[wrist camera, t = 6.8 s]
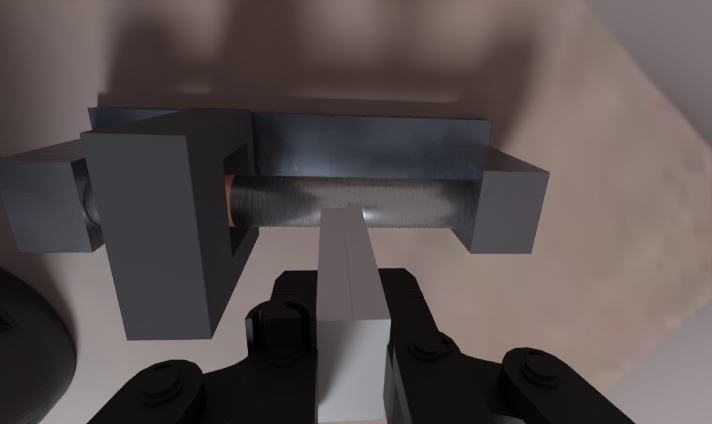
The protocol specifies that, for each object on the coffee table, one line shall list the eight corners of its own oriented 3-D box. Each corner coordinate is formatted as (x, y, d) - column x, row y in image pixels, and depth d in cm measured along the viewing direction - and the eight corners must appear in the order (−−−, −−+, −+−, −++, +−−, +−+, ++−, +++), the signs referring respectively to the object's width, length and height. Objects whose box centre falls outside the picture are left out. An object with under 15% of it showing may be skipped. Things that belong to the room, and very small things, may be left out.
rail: (120, 220, 23) (28, 282, 16) (96, 106, 20) (-24, 121, 13) (470, 223, 25) (524, 280, 18) (486, 119, 22) (558, 138, 15)
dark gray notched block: (209, 234, 22) (127, 340, 13) (194, 107, 19) (79, 132, 10) (259, 234, 22) (211, 339, 13) (251, 109, 20) (185, 135, 11)
